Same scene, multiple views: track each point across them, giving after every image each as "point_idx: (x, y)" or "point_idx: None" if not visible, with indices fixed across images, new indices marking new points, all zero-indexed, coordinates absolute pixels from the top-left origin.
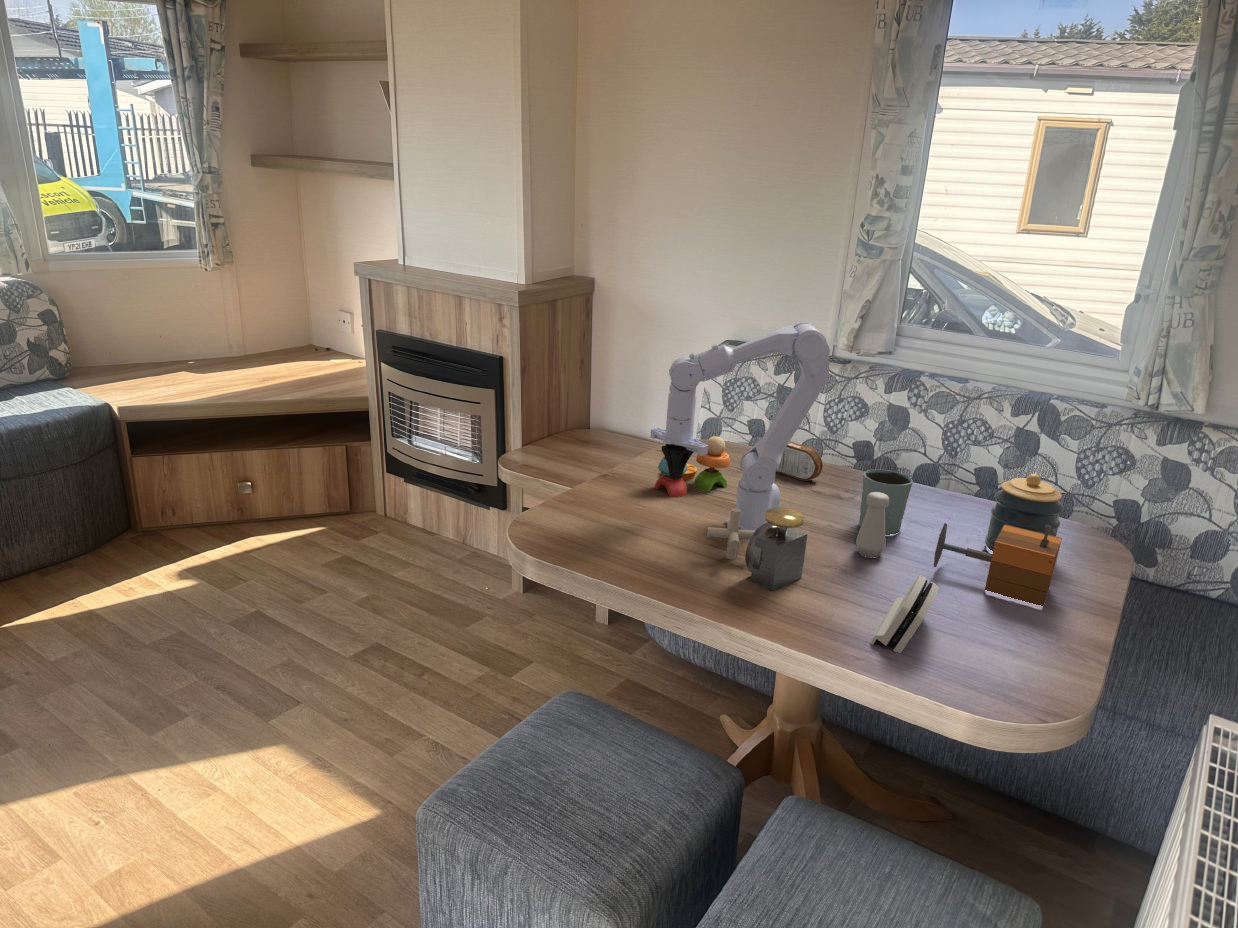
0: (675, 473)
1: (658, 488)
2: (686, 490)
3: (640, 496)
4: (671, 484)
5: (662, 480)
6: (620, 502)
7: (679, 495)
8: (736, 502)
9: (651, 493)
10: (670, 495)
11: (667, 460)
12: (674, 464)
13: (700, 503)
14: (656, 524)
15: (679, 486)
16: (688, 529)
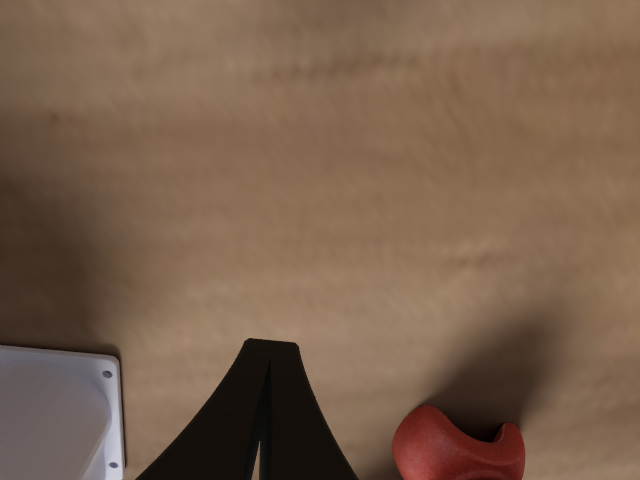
0: (225, 378)
1: (500, 429)
2: (398, 467)
3: (522, 335)
4: (447, 453)
5: (497, 457)
6: (565, 229)
7: (401, 428)
8: (40, 449)
9: (500, 383)
10: (428, 408)
11: (326, 468)
12: (201, 444)
13: None
14: (300, 141)
15: (418, 462)
16: (165, 202)
